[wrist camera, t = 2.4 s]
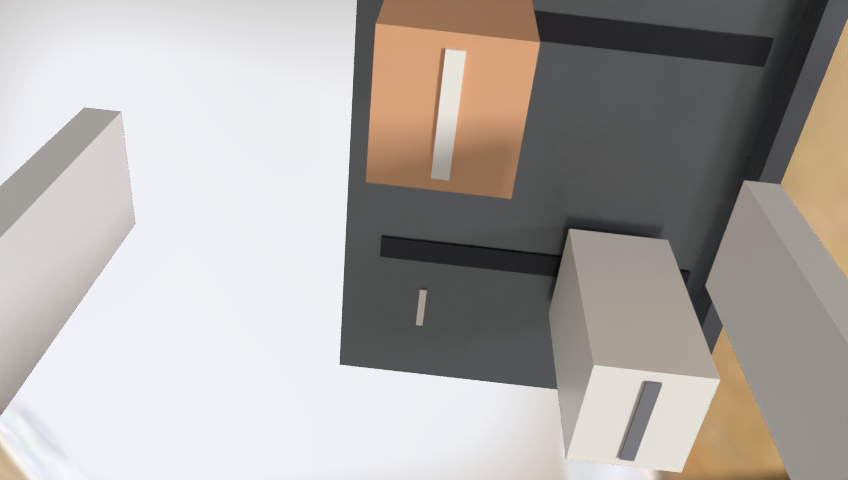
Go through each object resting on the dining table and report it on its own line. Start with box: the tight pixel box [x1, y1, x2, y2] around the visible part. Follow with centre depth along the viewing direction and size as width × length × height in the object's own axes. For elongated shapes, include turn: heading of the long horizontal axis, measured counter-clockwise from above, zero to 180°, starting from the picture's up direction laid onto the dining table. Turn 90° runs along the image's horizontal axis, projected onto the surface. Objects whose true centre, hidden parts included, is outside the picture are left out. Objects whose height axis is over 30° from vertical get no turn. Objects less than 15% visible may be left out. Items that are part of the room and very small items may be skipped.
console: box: [340, 0, 848, 389], centre depth 29 cm, size 24×16×2 cm, turn 175°
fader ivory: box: [549, 229, 720, 472], centre depth 29 cm, size 4×4×8 cm
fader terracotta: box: [366, 0, 540, 199], centre depth 23 cm, size 4×4×8 cm
